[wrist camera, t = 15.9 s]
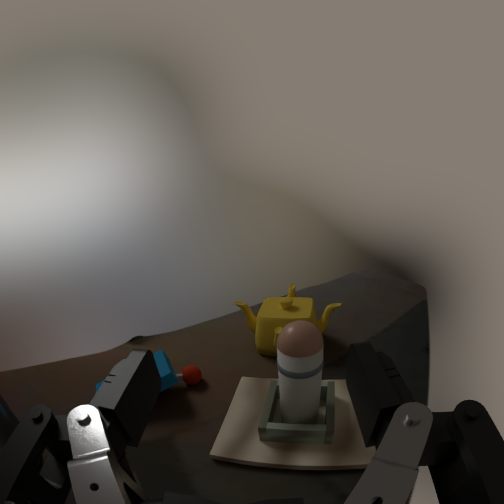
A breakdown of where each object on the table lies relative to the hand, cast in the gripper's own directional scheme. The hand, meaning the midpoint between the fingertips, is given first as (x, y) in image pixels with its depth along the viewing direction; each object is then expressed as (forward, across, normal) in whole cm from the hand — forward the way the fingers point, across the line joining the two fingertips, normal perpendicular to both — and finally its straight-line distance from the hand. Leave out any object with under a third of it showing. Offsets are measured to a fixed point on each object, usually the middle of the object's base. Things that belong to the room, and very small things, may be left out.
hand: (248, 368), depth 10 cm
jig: (+16, -4, +25) cm, 29 cm away
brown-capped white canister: (+16, -4, +23) cm, 28 cm away
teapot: (+36, -4, +25) cm, 44 cm away
